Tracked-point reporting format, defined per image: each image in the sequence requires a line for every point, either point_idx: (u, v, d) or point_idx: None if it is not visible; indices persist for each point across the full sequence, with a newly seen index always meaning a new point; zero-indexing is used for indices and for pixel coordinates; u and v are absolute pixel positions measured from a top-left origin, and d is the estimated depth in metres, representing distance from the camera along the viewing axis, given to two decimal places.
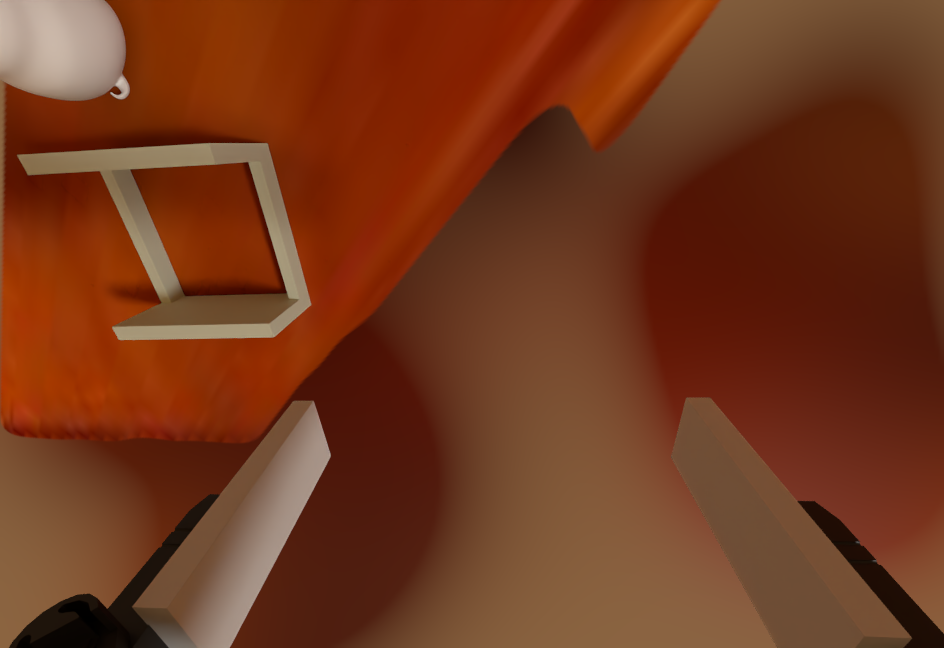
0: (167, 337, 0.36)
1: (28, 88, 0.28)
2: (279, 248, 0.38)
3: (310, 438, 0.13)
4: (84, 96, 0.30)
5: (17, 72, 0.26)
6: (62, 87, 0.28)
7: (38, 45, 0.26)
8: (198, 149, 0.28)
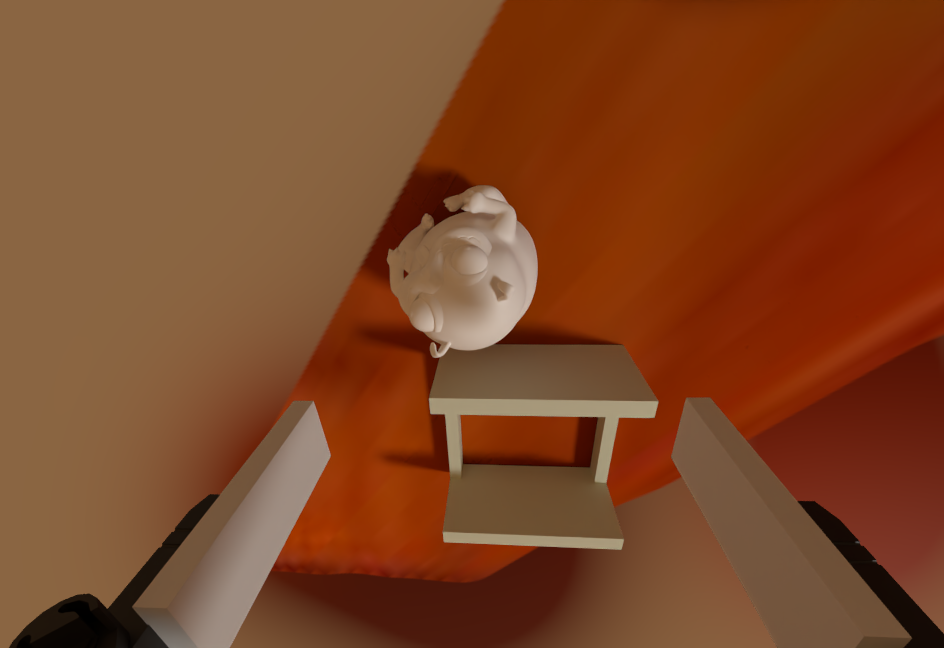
0: (500, 543, 0.34)
1: None
2: (607, 442, 0.35)
3: (310, 438, 0.13)
4: None
5: None
6: None
7: None
8: (642, 405, 0.26)
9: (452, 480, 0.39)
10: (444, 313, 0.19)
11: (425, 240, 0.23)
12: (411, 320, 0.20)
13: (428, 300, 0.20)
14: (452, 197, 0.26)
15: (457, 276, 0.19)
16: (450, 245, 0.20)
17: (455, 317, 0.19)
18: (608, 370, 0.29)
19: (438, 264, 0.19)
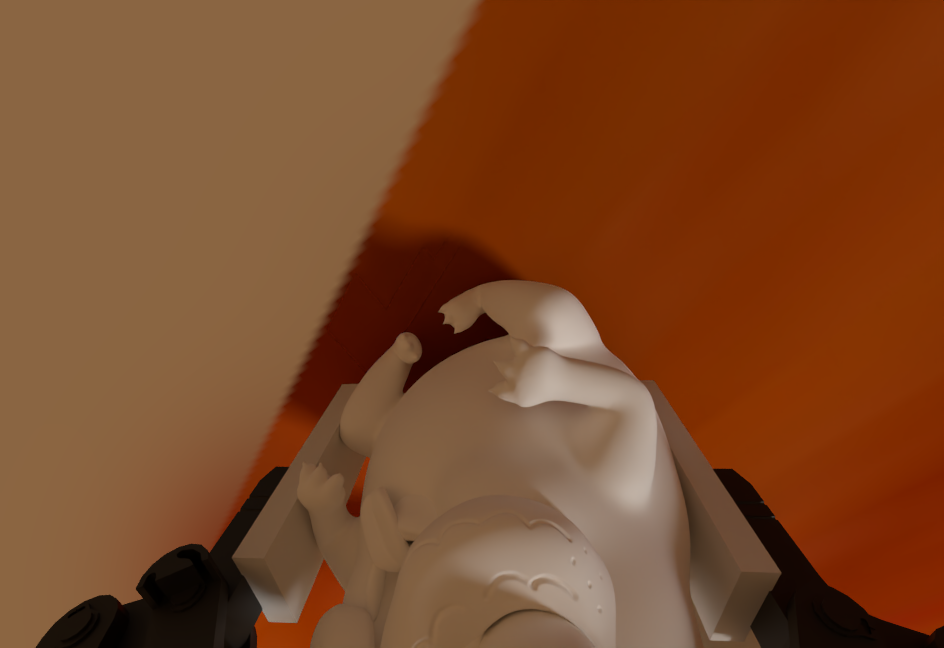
0: None
1: None
2: None
3: None
4: None
5: None
6: None
7: None
8: None
9: None
10: None
11: (392, 453, 0.09)
12: None
13: None
14: (459, 300, 0.12)
15: None
16: (463, 616, 0.05)
17: None
18: None
19: None
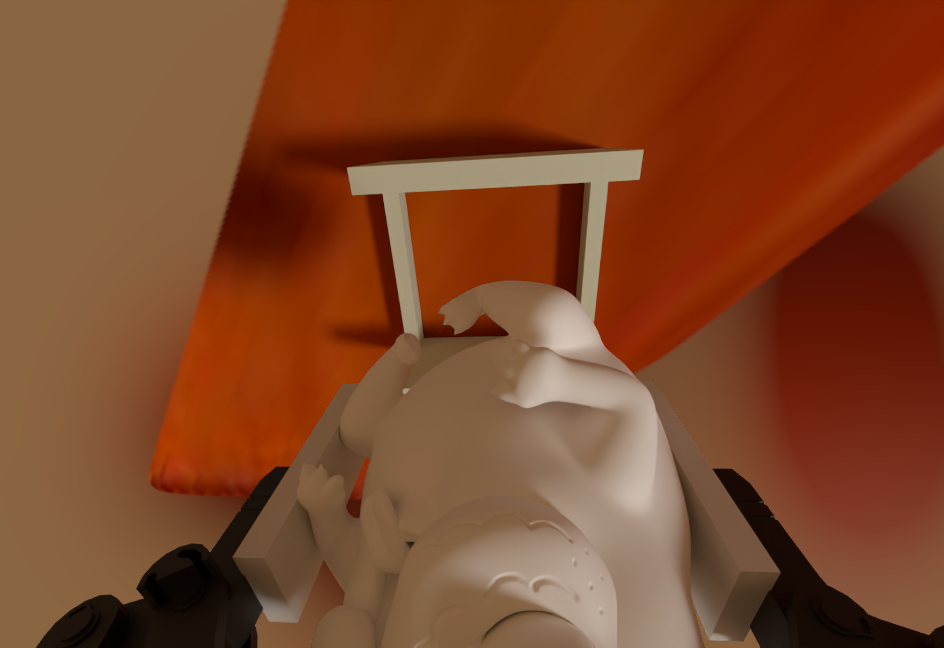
0: None
1: None
2: (590, 283, 0.29)
3: None
4: None
5: None
6: None
7: None
8: (622, 157, 0.20)
9: None
10: None
11: (392, 454, 0.09)
12: None
13: None
14: (459, 301, 0.12)
15: None
16: (464, 618, 0.05)
17: None
18: None
19: None
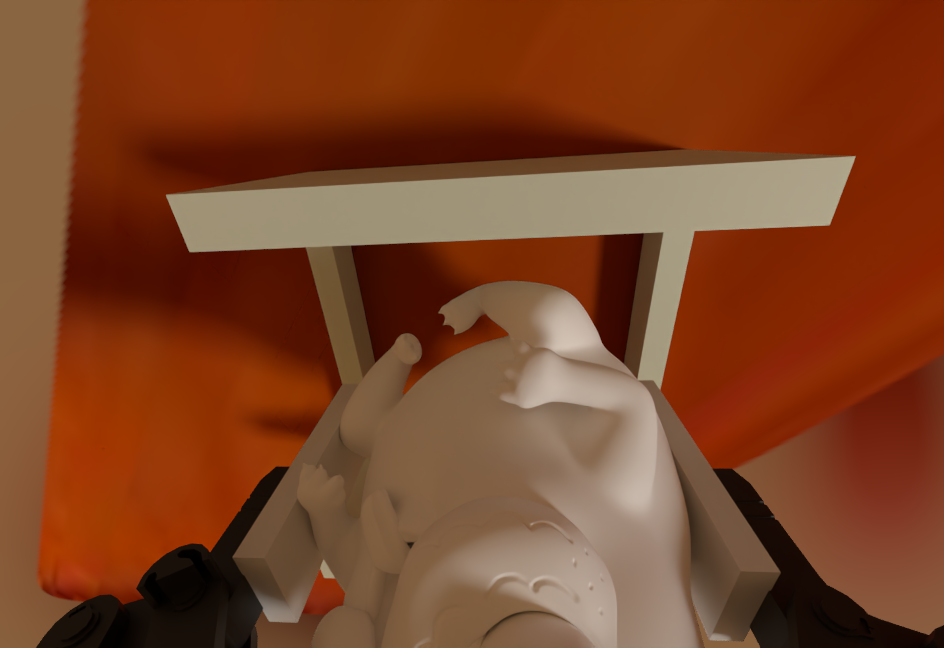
0: None
1: None
2: (651, 371, 0.18)
3: None
4: None
5: None
6: None
7: None
8: (799, 176, 0.08)
9: None
10: None
11: (392, 455, 0.09)
12: None
13: None
14: (459, 301, 0.12)
15: None
16: (464, 618, 0.05)
17: None
18: (667, 156, 0.12)
19: None
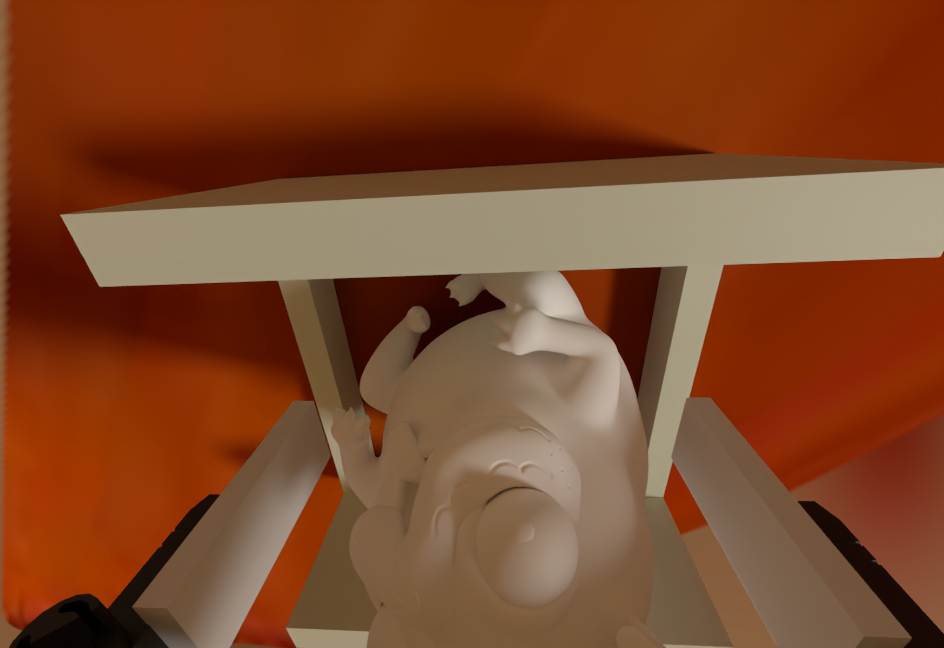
0: None
1: None
2: (672, 406, 0.16)
3: (310, 438, 0.13)
4: None
5: None
6: None
7: None
8: (907, 192, 0.06)
9: (347, 497, 0.19)
10: None
11: (410, 398, 0.11)
12: None
13: None
14: (464, 278, 0.14)
15: (497, 611, 0.06)
16: (472, 490, 0.07)
17: None
18: (704, 162, 0.09)
19: (440, 555, 0.07)
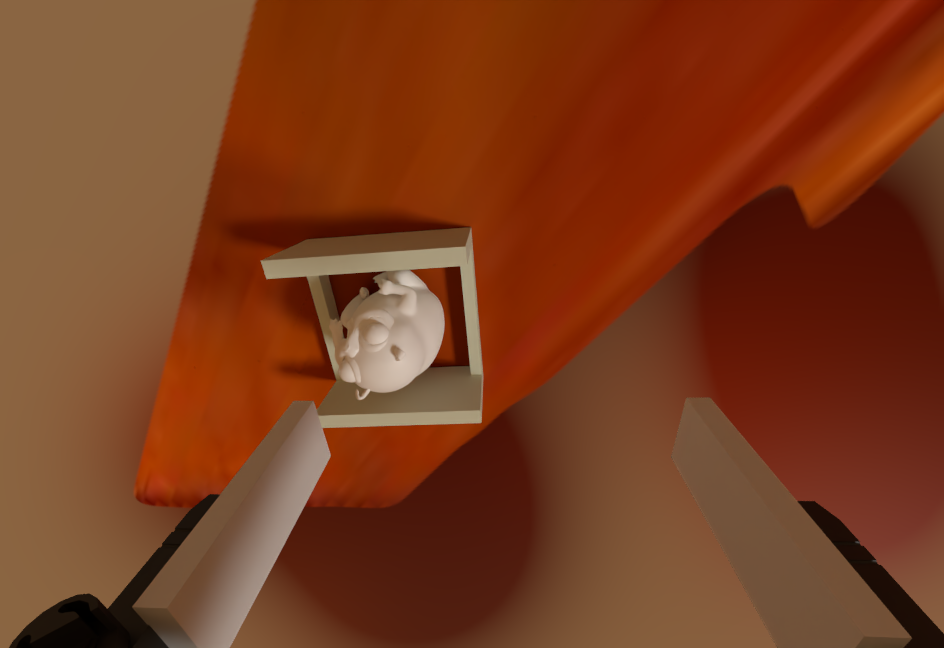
0: (368, 424, 0.35)
1: None
2: (472, 328, 0.37)
3: (310, 438, 0.13)
4: None
5: None
6: None
7: (423, 364, 0.32)
8: (452, 252, 0.28)
9: (337, 382, 0.40)
10: (360, 370, 0.28)
11: (355, 313, 0.32)
12: (339, 375, 0.29)
13: (349, 362, 0.29)
14: (380, 275, 0.35)
15: (366, 346, 0.28)
16: (363, 323, 0.29)
17: (367, 373, 0.28)
18: (440, 237, 0.31)
19: (355, 337, 0.28)
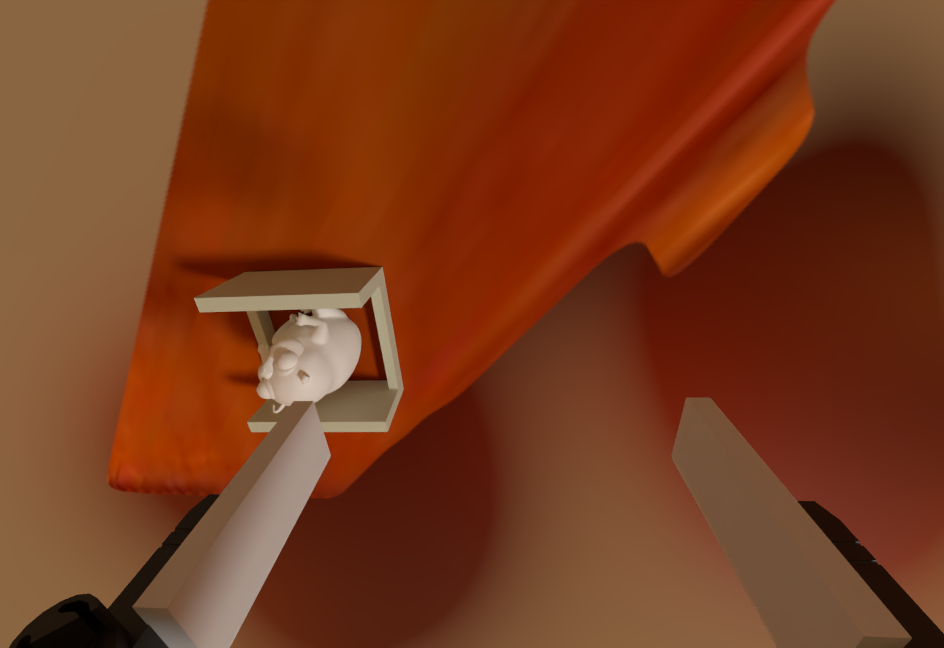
0: None
1: None
2: (386, 350, 0.43)
3: (310, 438, 0.13)
4: None
5: None
6: None
7: (334, 383, 0.39)
8: (348, 296, 0.34)
9: None
10: (273, 390, 0.35)
11: (278, 339, 0.39)
12: (258, 393, 0.35)
13: (265, 382, 0.35)
14: None
15: (278, 370, 0.34)
16: (278, 351, 0.35)
17: (279, 392, 0.35)
18: (348, 279, 0.37)
19: (269, 363, 0.35)
